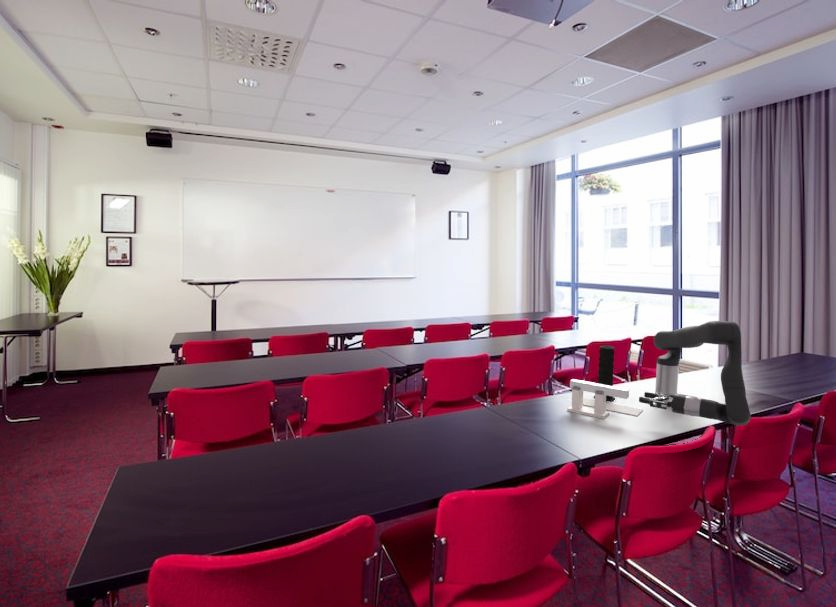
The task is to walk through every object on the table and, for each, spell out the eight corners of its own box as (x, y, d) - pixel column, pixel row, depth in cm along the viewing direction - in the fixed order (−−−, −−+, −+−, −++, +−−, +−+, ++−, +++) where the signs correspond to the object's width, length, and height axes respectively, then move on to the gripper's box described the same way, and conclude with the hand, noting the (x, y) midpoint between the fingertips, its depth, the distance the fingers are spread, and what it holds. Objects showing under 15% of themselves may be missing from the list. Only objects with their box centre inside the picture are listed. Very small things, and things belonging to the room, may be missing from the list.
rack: (573, 406, 208) (574, 383, 207) (609, 414, 198) (610, 389, 197) (567, 410, 203) (568, 386, 202) (604, 419, 193) (605, 393, 192)
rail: (569, 388, 203) (570, 380, 203) (572, 386, 206) (573, 379, 206) (626, 399, 188) (626, 390, 188) (628, 397, 191) (629, 389, 191)
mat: (581, 398, 222) (581, 397, 222) (643, 410, 204) (643, 409, 204) (573, 403, 214) (573, 402, 214) (637, 416, 196) (637, 415, 196)
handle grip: (618, 401, 216) (611, 395, 226) (621, 347, 213) (614, 343, 223) (597, 401, 217) (591, 394, 227) (599, 346, 214) (593, 342, 224)
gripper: (690, 391, 181) (646, 384, 191) (684, 400, 170) (637, 391, 180) (689, 409, 182) (645, 401, 192) (683, 419, 171) (636, 410, 181)
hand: (641, 396), depth 186 cm, fingers open, 8 cm apart
